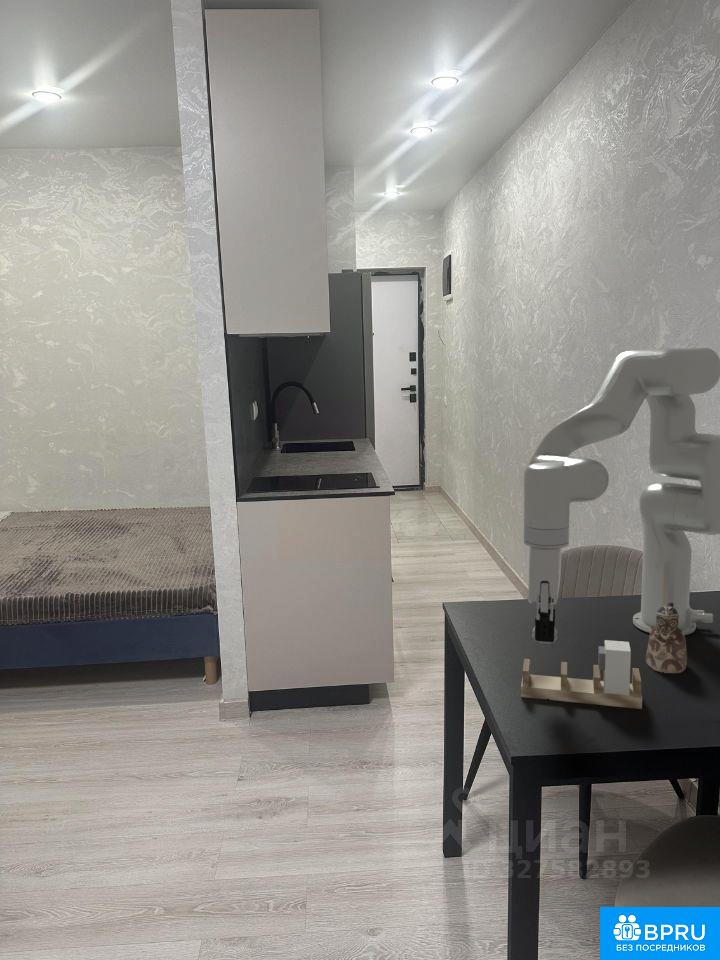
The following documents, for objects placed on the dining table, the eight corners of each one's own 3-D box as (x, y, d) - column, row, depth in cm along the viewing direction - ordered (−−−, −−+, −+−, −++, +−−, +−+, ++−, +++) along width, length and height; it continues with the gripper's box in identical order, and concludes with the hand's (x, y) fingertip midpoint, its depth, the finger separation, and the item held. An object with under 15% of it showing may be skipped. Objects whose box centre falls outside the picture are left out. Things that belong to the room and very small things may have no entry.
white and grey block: (627, 684, 122) (628, 641, 121) (629, 695, 118) (630, 651, 117) (597, 681, 124) (598, 639, 122) (598, 692, 120) (599, 649, 118)
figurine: (640, 666, 133) (642, 607, 131) (653, 653, 138) (655, 596, 136) (679, 676, 128) (682, 615, 126) (691, 663, 134) (694, 603, 131)
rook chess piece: (558, 644, 120) (559, 600, 119) (532, 643, 121) (532, 600, 120) (556, 634, 124) (557, 592, 123) (531, 633, 125) (531, 591, 124)
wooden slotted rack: (639, 695, 122) (639, 668, 121) (641, 709, 118) (642, 681, 117) (522, 683, 128) (522, 658, 127) (521, 696, 123) (521, 670, 122)
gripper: (526, 522, 128) (526, 616, 132) (520, 547, 112) (520, 653, 116) (569, 523, 126) (567, 619, 129) (569, 549, 110) (567, 657, 114)
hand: (545, 634), depth 123 cm, fingers closed on rook chess piece, 4 cm apart
